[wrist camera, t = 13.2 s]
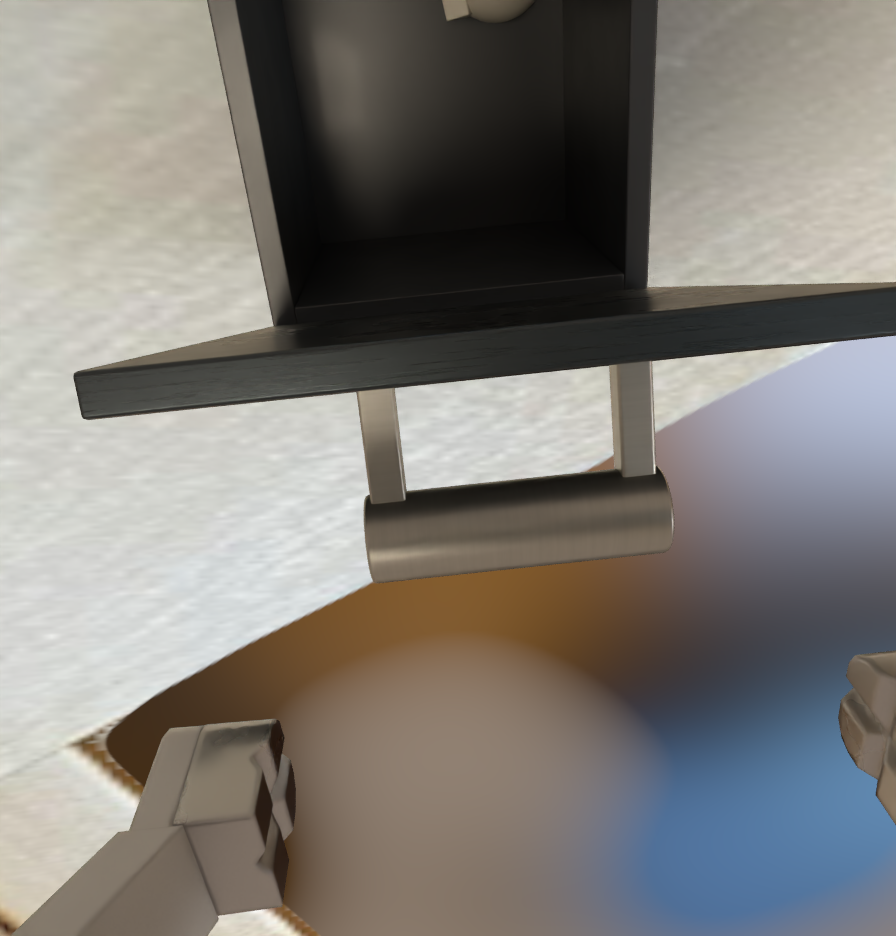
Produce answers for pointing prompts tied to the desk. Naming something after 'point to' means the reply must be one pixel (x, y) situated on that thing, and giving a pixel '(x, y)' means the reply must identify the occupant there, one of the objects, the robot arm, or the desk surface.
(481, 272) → the waste bin
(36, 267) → the desk surface
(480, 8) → the beige rounded piece
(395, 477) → the bin lid
